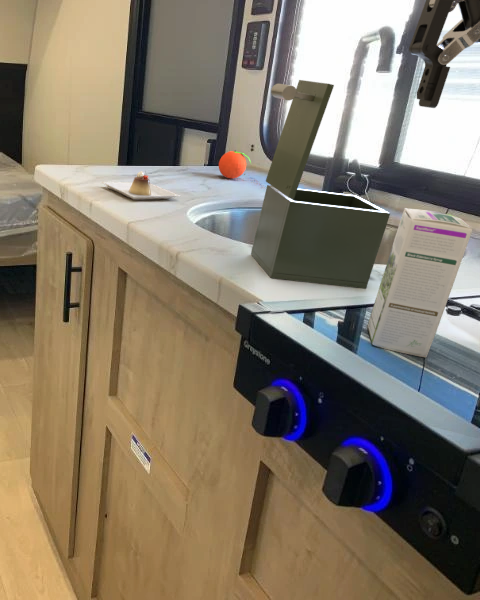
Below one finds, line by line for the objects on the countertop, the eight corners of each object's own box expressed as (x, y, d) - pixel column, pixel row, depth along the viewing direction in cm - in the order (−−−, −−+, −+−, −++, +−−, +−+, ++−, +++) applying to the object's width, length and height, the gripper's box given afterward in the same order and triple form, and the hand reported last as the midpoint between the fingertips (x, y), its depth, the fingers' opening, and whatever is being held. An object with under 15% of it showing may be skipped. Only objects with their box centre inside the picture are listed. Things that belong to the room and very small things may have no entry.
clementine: (248, 179, 157) (254, 152, 154) (245, 183, 150) (252, 155, 148) (218, 174, 159) (223, 147, 156) (214, 177, 153) (219, 149, 150)
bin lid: (304, 81, 83) (270, 73, 82) (334, 85, 73) (295, 75, 73) (270, 182, 88) (237, 175, 88) (294, 198, 78) (257, 190, 78)
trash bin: (336, 263, 93) (356, 195, 89) (366, 288, 83) (390, 213, 79) (250, 254, 93) (267, 184, 88) (270, 278, 83) (290, 201, 79)
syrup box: (428, 359, 63) (478, 227, 58) (369, 345, 65) (412, 216, 59) (418, 338, 69) (464, 215, 63) (363, 326, 70) (403, 205, 65)
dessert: (180, 201, 122) (184, 177, 120) (131, 201, 116) (135, 177, 114) (146, 187, 132) (150, 165, 130) (100, 187, 126) (103, 164, 124)
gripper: (485, -103, 48) (418, 107, 54) (655, -80, 49) (569, 126, 55) (434, -84, 55) (380, 101, 61) (583, -63, 55) (514, 117, 62)
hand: (469, 112), depth 58 cm, fingers open, 8 cm apart
